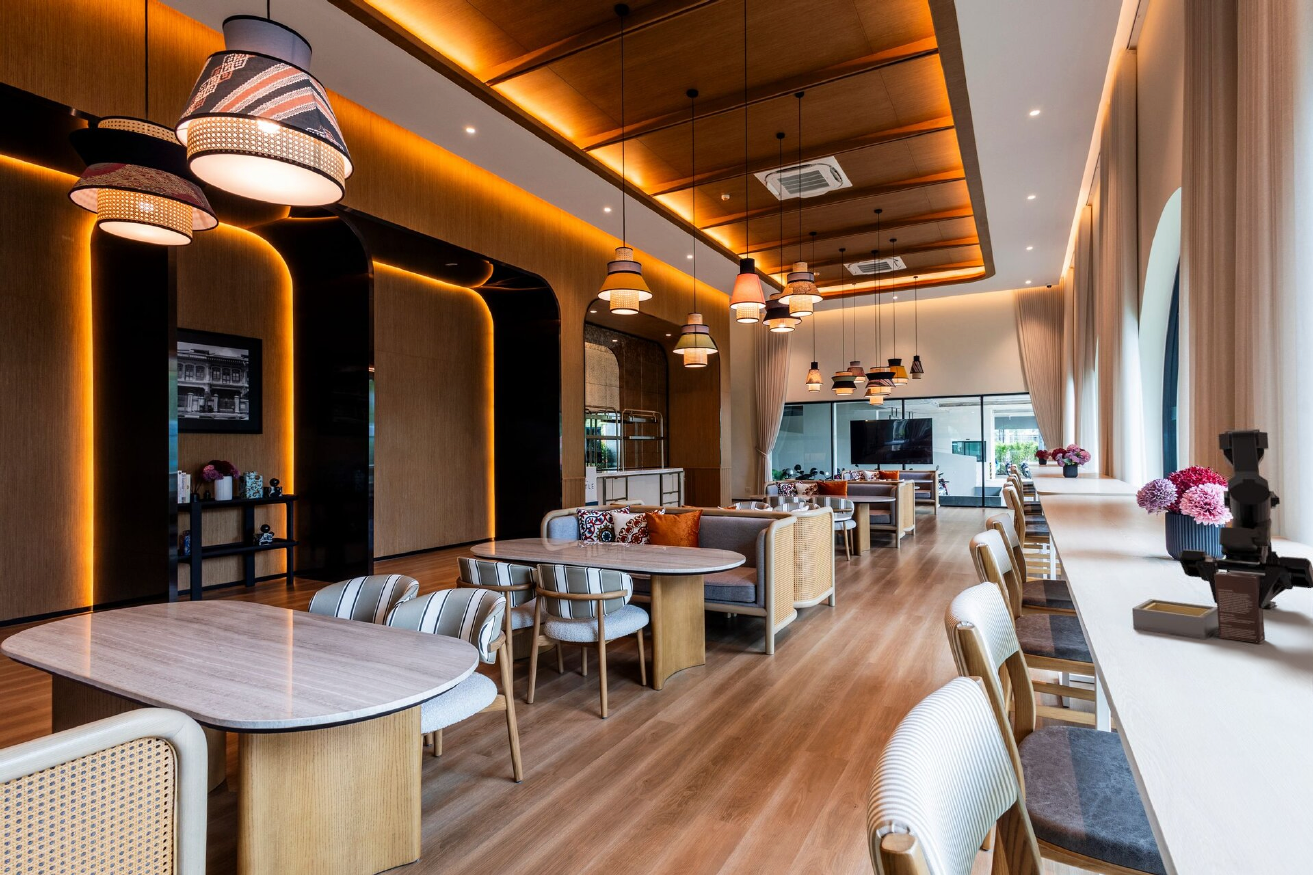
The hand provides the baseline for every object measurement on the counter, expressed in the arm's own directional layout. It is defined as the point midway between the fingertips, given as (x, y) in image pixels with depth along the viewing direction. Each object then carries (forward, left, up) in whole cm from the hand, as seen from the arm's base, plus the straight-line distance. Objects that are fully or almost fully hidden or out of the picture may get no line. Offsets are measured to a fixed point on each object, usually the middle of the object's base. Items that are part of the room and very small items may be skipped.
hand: (1237, 604), depth 122 cm
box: (-1, 0, -7) cm, 7 cm away
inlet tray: (-2, -10, -7) cm, 12 cm away
